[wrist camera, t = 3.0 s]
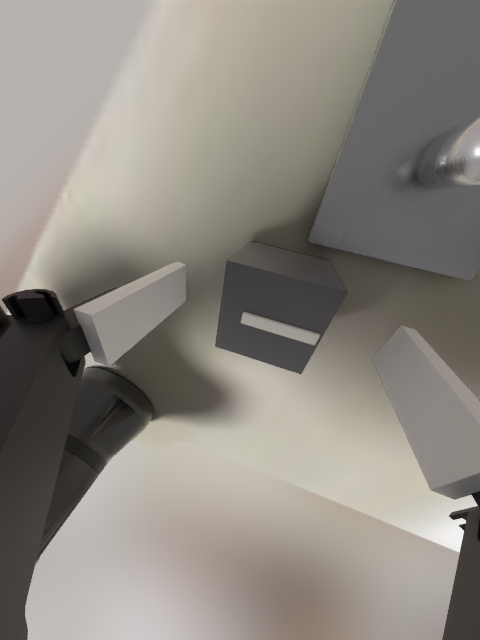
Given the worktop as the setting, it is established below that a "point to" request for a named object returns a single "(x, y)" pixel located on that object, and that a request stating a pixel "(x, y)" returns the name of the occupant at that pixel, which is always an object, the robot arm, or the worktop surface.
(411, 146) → the base plate
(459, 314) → the worktop surface
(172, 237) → the worktop surface
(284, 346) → the dark grey cube
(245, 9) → the worktop surface
